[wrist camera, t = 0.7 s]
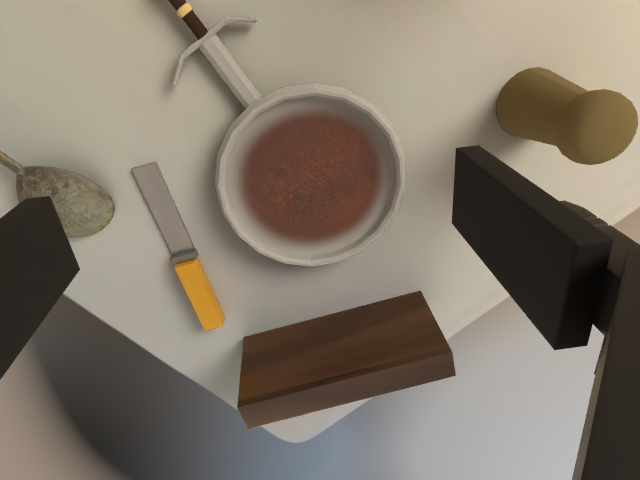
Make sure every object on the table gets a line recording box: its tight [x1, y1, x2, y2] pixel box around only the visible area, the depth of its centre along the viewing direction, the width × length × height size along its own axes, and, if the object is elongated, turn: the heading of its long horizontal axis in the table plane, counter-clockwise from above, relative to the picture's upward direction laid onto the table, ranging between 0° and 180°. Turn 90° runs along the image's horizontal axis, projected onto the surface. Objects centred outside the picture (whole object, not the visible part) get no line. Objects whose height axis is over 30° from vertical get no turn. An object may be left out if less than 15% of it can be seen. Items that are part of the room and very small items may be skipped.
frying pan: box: [169, 0, 406, 267], centre depth 38 cm, size 17×3×28 cm
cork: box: [496, 67, 638, 165], centre depth 35 cm, size 6×6×11 cm
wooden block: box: [237, 291, 456, 429], centre depth 45 cm, size 3×20×10 cm, turn 104°
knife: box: [131, 162, 224, 331], centre depth 43 cm, size 18×2×2 cm, turn 14°
